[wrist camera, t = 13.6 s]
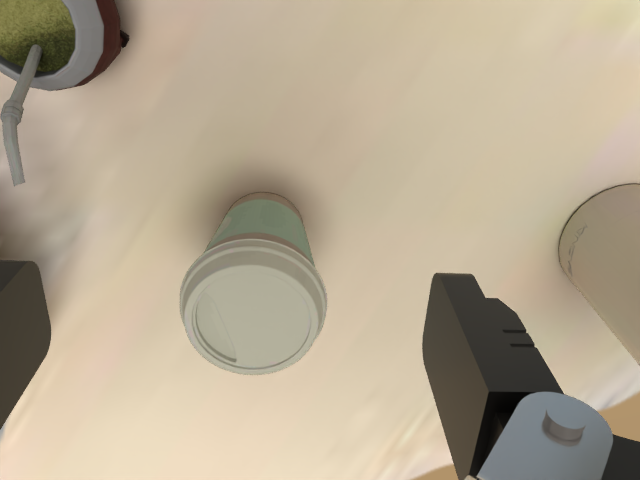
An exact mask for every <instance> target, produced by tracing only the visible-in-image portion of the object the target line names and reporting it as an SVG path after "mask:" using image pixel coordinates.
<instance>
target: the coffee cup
mask: <svg viewBox="0 0 640 480" xmlns="http://www.w3.org/2000/svg"><path fill="white" fill-rule="evenodd" d="M326 311H327V293H326V289H325V286H324V283H323V280H322V278H321V276H320V275H319V273H318V271H317V270H316V269H315V266H314V262H313V258H312V254H311V251H310V247H309V243H308V240H307V236H306V232H305V229H304V226H303V222H302V219H301V216H300V214H299V212H298V210H297V209H296V208H295V206H294V205H293V204H292V203H291V202H289V201H288V200H287V199H285V198H283V197H281V196H279V195H276V194H273V193H267V192H258V193H252V194H249V195H246V196H244V197H242V198H241V199H239V200H238V201H236V202H235V203H234V204H233V205H232V207H231V208H230V209H229V211H228V213H227V214H226V216H225V218H224V219H223V221H222V223H221V224H220V226H219V228H218V229H217V231H216V233H215V235H214V236H213V238H212V240H211V242H210V243H209V245H208V247H207V248H206V250H205V252H204V254H203V255H201V256H200V257H199V258H198V259H197V260H196V261H195V262H194V263H193V264H192V266H191V267H190V268H189V270H188V271H187V273H186V275H185V277H184V280H183V282H182V286H181V291H180V313H181V318H182V321H183V324H184V326H185V330H186V333H187V336H188V338H189V340H190V342H191V343H192V345H193V346H194V348H195V349H196V350H197V351H198V353H199V354H200V355H202V356H203V357H204V358H205V359H206V360H208V361H209V362H210V363H212V364H214V365H215V366H217V367H219V368H222V369H224V370H227V371H230V372H233V373H238V374H245V375H262V374H269V373H273V372H277V371H280V370H282V369H285V368H287V367H289V366H291V365H292V364H294V363H295V362H297V361H298V360H300V359H301V358H302V357H303V356H304V355H305V354H306V353H307V352H308V350H309V349H310V347H311V346H312V344H313V342H314V341H315V339H316V338H317V337H318V335H319V333H320V331H321V329H322V327H323V324H324V320H325V316H326Z"/></svg>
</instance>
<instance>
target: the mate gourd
mask: <svg viewBox="0 0 640 480" xmlns="http://www.w3.org/2000/svg"><path fill="white" fill-rule="evenodd" d="M128 40H129V36H128V35H127V34H126V33H124V32H123V31H122V30H120V18H119V15H118V12H117V8H116V5H115V2H114V0H0V72H2V73H3V74H5V75H7V76H8V77H10V78H12V79H13V80H15V81H17V84H16V86H15V89H14V91H13V93H12V95H11V97H10V100H7V102H6V103H5V104H4V106H3V109H2V112H1V116H0V118H1V120H2V122H3V125H2V126H3V137H4V145H5V149H6V153H7V157H8V162H9V166H10V170H11V175H12V179H13V184H14V186H16V185H19V184H22V183H24V182H25V180H24V175H23V169H22V163H21V157H20V152H19V146H18V137H17V125H18V124H19V123H20V122H21V118H22V114H23V110H24V109H23V107H22V105H23V102H24V100H25V97H26V95H27V92H28V90H29V87H32V88H37V89H42V90H47V91H53V90H62V89H67V88H72V87H77V86H81V85H84V84H86V83H88V82H89V81H91V80H92V79H93V78H95V77H96V76H98V75H99V74H100V73H102V72H103V71H105V70H106V69H107V67H108V66H109V65H110V64H111V63H112V61H113V60H114V59H115V58H116V56H117V55H118V54H119V53H120V51H121V47H123V48H124V47H125V46H126V44H127V42H128Z"/></svg>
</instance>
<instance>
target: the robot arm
mask: <svg viewBox="0 0 640 480" xmlns="http://www.w3.org/2000/svg"><path fill="white" fill-rule="evenodd" d="M559 257H560V262H561V265H562V268H563V270H564V272H565V273H566V275H567V276H568V277H569V279H570V280H571V281H572V282H573V284H574V285H575V286H576V287H577V288H578V290H579V291H580V292H581V293H582V295H583V296H584V297H585V298H586V300H587V301H588V302H589V304H590V305H591V306H592V307H593V309H594V310H595V311H596V312H597V313H598V315H599V316H600V317H601V318H602V320H603V321H604V322H605V323H606V325H607V326H608V327H609V328H610V329H611V331H612V332H613V333H614V334H615V336H616V337H617V338H618V339H619V341H620V342H621V343H622V344H623V345H624V347H625V348H626V349H627V350H628V352H629V353H630V354H631V355H632V357H633V358H634V359H635V360H636V361H637V363H638V364H639V365H640V185H639V184H630V185H623V186H618V187H615V188H612V189H609V190H606V191H604V192H602V193H600V194H598V195H596V196H594V197H593V198H591V199H590V200H589V201H587V202H586V203H585V204H584V205H582V206H581V207H580V208H579V209H578V210H577V211H576V213H575V214H574V215H573V216H572V217H571V219H570V220H569V222H568V223H567V225H566V227H565V229H564V231H563V234H562V236H561V239H560V246H559ZM50 340H51V325H50V320H49V315H48V310H47V305H46V300H45V295H44V290H43V285H42V280H41V275H40V271H39V268H38V266H37V264H36V263H35V262H33V261H14V260H0V429H1V428H2V426H3V424H4V423H5V421H6V420H7V418H8V416H9V415H10V413H11V411H12V410H13V408H14V407H15V405H16V403H17V402H18V400H19V399H20V397H21V395H22V394H23V392H24V391H25V389H26V387H27V386H28V384H29V383H30V381H31V379H32V378H33V376H34V375H35V373H36V371H37V370H38V368H39V366H40V365H41V363H42V362H43V360H44V358H45V357H46V355H47V352H48V349H49V346H50ZM422 349H423V360H424V365H425V369H426V372H427V375H428V379H429V382H430V385H431V389H432V392H433V395H434V399H435V402H436V406H437V409H438V412H439V416H440V419H441V422H442V426H443V429H444V432H445V436H446V439H447V442H448V446H449V449H450V453H451V456H452V459H453V463H454V466H455V469H456V473H457V476H458V479H459V480H640V442H638V441H634V440H630V439H626V438H623V437H619V436H616V435H614V434H612V431H611V429H610V427H609V425H608V423H607V422H606V421H605V420H604V418H603V417H602V416H601V415H600V414H599V413H598V412H597V411H596V410H594V409H593V408H592V407H590V406H589V405H587V404H585V403H584V402H582V401H580V400H578V399H576V398H573V397H570V396H568V395H564V393H563V391H562V390H561V388H560V386H559V385H558V383H557V381H556V380H555V378H554V376H553V374H552V373H551V371H550V369H549V368H548V366H547V364H546V363H545V361H544V359H543V358H542V356H541V354H540V352H539V351H538V349H537V348H535V347H534V342H533V341H532V339H531V337H530V336H529V334H528V333H526V329H525V327H524V325H523V324H522V322H521V320H520V319H519V317H518V315H517V314H516V313H515V312H514V311H513V310H512V309H510V308H509V307H508V306H507V305H505V304H504V303H503V302H502V301H500V300H499V299H498V298H485V296H484V294H483V292H482V290H481V289H480V287H479V285H478V283H477V281H476V279H475V277H474V276H473V275H472V274H454V273H436V274H435V275H434V276H433V279H432V283H431V289H430V295H429V301H428V308H427V314H426V320H425V326H424V332H423V343H422Z"/></svg>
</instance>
